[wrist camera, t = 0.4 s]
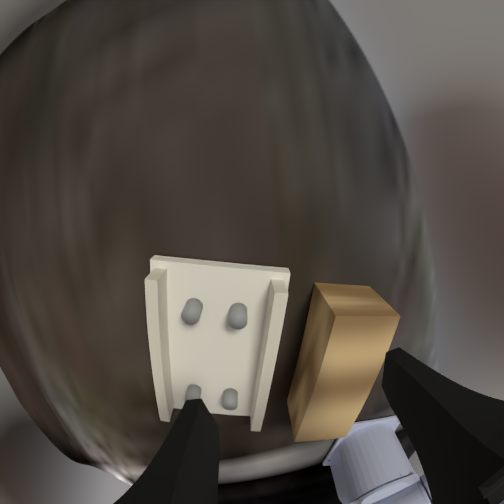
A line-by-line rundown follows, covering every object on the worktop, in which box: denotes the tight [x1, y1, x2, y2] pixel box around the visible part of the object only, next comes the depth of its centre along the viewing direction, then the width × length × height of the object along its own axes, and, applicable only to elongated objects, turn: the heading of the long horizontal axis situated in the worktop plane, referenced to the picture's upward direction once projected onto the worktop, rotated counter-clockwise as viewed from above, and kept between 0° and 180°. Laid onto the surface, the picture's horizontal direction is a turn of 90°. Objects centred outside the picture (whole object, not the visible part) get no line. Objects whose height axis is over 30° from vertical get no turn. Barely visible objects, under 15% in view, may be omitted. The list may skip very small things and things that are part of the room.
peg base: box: [145, 255, 290, 431], centre depth 18 cm, size 14×9×3 cm, turn 174°
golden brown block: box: [287, 283, 400, 442], centre depth 18 cm, size 12×4×5 cm, turn 174°
